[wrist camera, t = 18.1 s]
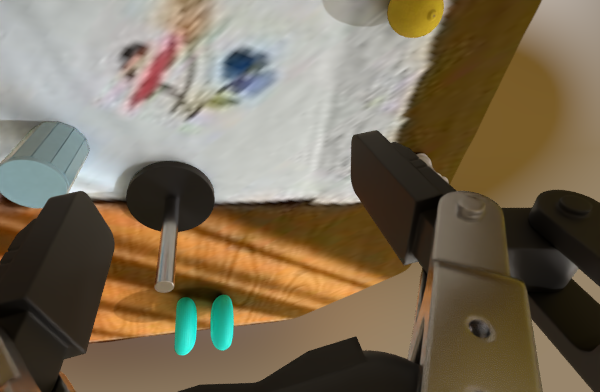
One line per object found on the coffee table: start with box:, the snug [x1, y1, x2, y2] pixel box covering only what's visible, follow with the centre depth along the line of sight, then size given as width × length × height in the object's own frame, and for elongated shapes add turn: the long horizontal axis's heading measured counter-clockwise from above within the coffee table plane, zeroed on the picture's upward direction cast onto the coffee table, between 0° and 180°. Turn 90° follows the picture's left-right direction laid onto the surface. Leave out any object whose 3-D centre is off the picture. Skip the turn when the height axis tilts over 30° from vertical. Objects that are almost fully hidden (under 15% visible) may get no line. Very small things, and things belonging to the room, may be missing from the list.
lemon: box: [387, 0, 444, 38], centre depth 37 cm, size 6×6×8 cm
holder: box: [126, 161, 214, 293], centre depth 41 cm, size 12×12×17 cm
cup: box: [0, 122, 90, 208], centre depth 36 cm, size 6×6×9 cm
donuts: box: [175, 295, 234, 355], centre depth 60 cm, size 10×10×10 cm
